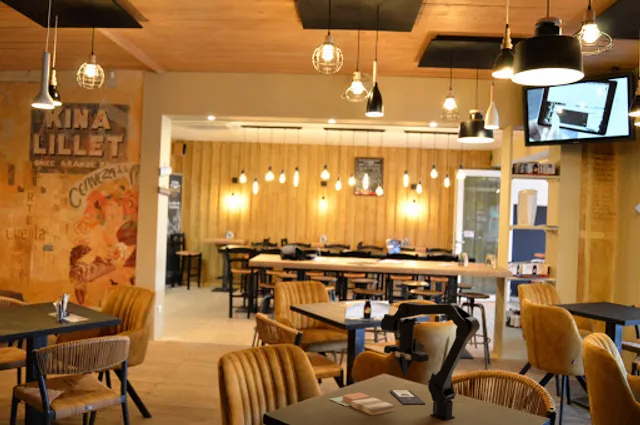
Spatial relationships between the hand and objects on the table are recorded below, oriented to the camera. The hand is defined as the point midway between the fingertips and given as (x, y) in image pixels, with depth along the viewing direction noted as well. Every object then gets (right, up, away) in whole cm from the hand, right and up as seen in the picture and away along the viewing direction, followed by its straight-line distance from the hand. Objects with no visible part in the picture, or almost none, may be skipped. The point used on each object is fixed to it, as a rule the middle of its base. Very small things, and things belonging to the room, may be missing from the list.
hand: (404, 375), depth 236 cm
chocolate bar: (+2, -13, +12) cm, 18 cm away
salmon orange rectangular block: (-18, -11, +3) cm, 21 cm away
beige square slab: (-13, -11, -5) cm, 18 cm away
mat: (-20, -11, +4) cm, 23 cm away
